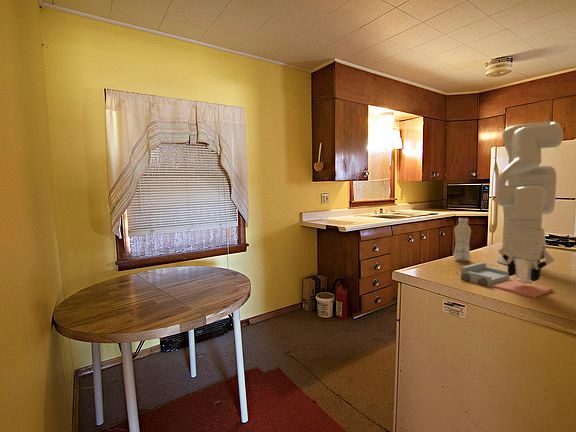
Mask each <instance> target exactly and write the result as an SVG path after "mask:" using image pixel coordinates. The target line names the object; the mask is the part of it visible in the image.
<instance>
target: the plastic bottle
mask: <svg viewBox="0 0 576 432" xmlns="http://www.w3.org/2000/svg"><path fill="white" fill-rule="evenodd" d="M457 221H458V224H457V225H456V226H455V227H454V236H455V237H454V238H455V246H454V251H453V259H454V260H455V261H457V262H464V263H465V262H469V261H470V260H471V252H470V238H471V233H472V229H471V226H470V225H469V224H468V223H469V218H468V217H459V218H458V220H457Z"/></svg>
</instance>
